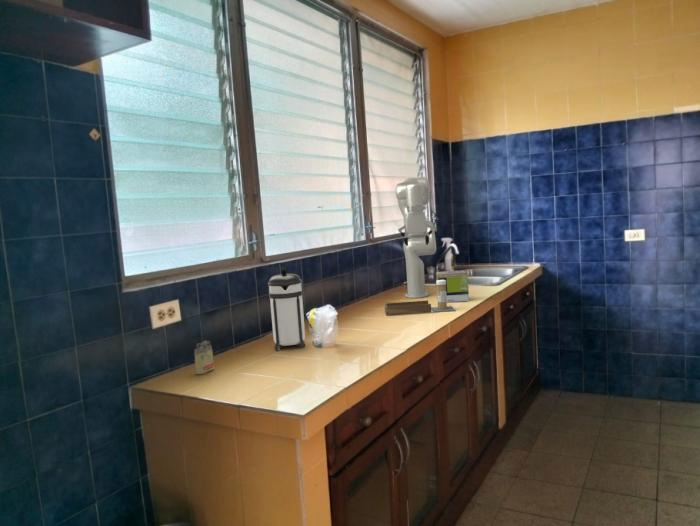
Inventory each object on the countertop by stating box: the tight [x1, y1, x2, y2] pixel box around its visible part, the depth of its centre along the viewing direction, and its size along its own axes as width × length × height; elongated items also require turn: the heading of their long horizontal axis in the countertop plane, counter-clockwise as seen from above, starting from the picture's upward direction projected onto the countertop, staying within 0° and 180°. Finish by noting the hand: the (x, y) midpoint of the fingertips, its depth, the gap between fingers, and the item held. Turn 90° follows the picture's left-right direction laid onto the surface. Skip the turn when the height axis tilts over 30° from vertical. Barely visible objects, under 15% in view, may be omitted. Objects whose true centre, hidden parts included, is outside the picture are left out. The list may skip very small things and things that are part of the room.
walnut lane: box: [383, 300, 432, 317], centre depth 258 cm, size 10×21×4 cm, turn 90°
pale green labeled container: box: [194, 339, 215, 375], centre depth 183 cm, size 7×4×10 cm, turn 153°
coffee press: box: [267, 267, 306, 351], centre depth 209 cm, size 17×16×30 cm
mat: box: [431, 305, 456, 313], centre depth 258 cm, size 10×10×1 cm
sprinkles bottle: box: [435, 279, 448, 309], centre depth 258 cm, size 5×5×14 cm
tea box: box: [435, 269, 470, 303], centre depth 279 cm, size 15×10×15 cm
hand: (416, 245), depth 267 cm, fingers open, 9 cm apart
